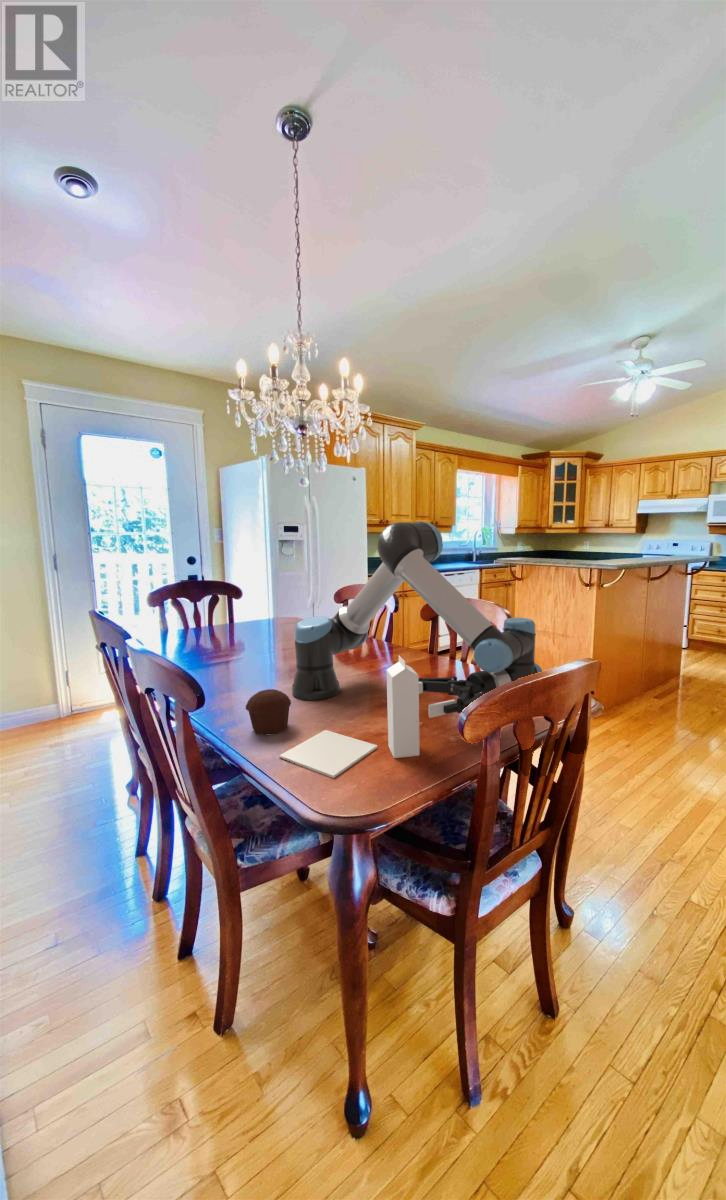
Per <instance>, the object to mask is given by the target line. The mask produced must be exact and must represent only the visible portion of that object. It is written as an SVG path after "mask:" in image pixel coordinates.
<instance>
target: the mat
mask: <svg viewBox="0 0 726 1200" xmlns="http://www.w3.org/2000/svg"><path fill="white" fill-rule="evenodd" d="M377 749H378V745H377V744H375V743H371V742H367V741H364V740H360V739H359V738H358V739H357V738H353V737H350V736H347V735H343V734H341V733H337V732H334V731H330V730H327V729H324V730H321V732H319V733H317V734H316V735H314V736H312V737H310V738H308V739H306V740H305V741H302V742H301V743H299V744H297V745H296V746H293V747H292V748H289V749H288V750H286V751H285V752H283V753H281V754H279V757H280V758H279V757H278V758H279V759H281V758H282V760H284V761H286V760H287V762H289V761H290V763H292V764H294V763H295V765H298V766H300V767H302V766H303V768H305V769H308V770H311V771H314V772H316V773H319V774H321V775H324V776H326V777H328V778H332V779H335V778H336V777H338V776H339V775H341V774H342V773H343V772H345V771H346V770H347V769H349V768H351V767H352V766H353V765H355V764H357V762H359V761H361V760H362V759H364V758H365V757H366V756H368V755H369V754H370V753H372V752H373V751H375V750H377Z"/></svg>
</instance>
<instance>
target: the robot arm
mask: <svg viewBox="0 0 726 1200" xmlns="http://www.w3.org/2000/svg"><path fill="white" fill-rule="evenodd" d="M443 544H444V543H443V536H442V534H441V532H440V530H439V529H438V528H437V526H435V525H434V524H432V523H430V522H425V521H412V522H404V521H403V522H402V521H399V522H393V523H391V524H389V525H387V526H386V527H385V528H384V529H383V530H382V531H381V532H380V534H379V536H378V540H377V545H376V546H377V552H378V555H379V557H380V560H381V561H382V562H381V564H380V565H379V566H378V568H377V569H376V570H375V572H374V573H373V574H371V575H372V576H371V577H369V579H368V580H367V582H366V583H365V585H364V586H363V587H362V588H361V590H359V591H358V593H357V595H355V597H354V598H353V600H352V601H351V603H349V605H344V606H342V607H341V608H340V609H339V610H338V612H336V614H335V615H334V616H333V617H332V618H330V617H327V616H314V617H308V618H304V619H302V620H300V621H298V622H297V623H296V624H295V627H294V635H293V636H294V638H293V639H294V646H295V647H294V649H295V662H296V664H295V665H296V666H295V667H296V671H295V674H294V679H293V683H292V686H291V692H292V693H291V694H292V696H293V697H295V698H297V699H300V700H305V701H318V700H319V701H320V700H324V699H330V698H332V697H334V696H336V695H338V694H339V693H340V689H341V687H340V686H341V685H340V682H339V680H338V678H337V674H336V671H335V668H334V655H337V654H339V653H343V652H346V651H351V650H354V649H357V648H359V647H360V646H362V645H363V644H364V643H365V642H366V641H367V639H368V635H369V633H368V631H369V629H370V625H371V624H370V622H371V621H372V620H373V619H374V617H375V616H376V615H377V614H378V613H379V611H380V610H381V609H382V608H383V606H384V605H385V604H386V603H387V602H388V601H389V599H390V598H391V597H392V596H393V595H394V594H395V592H396V591H397V590H398V589H399V588H400V587H401V585H402V584H403V583H404V582H406V583H407V585H409V586H410V588H412V589H413V591H415V592H416V593H417V594H418V596H419V597H421V599H423V600H424V601H425V603H426V604H428V606H429V607H430V608H431V609H432V610H433V611H434V612H435V613H436V614H437V615H438V616H439V617H440V618H441V619H442V620H443V621H444V622H446V624H447V625H448V626H449V627H450V628H451V629H452V630H453V631H454V632H455V633H456V634H457V635H458V636H459V637H460V638H461V639H462V640H463V641H464V642H465V643H466V645H468V646H469V647H470V648H471V650H472V651H473V659H474V661H475V664H476V665H477V667H478V668H479V669H480V671H475V672H470V674H469V675H468V676H467V678H466V679H459V680H458V677H457V676H449V677H419V695H423V693H426V692H429V693H441V694H443V693H444V694H447V695H448V696H454V697H455V696H456V699H448V700H445V701H439V702H435V703H431V704H428V706H427V707H428V713H427V714H428V716H427V717H429V718H430V719H431V718H432V719H433V718H436V717H440V716H444V715H450V714H454V713H458V714H461V712H462V710H463V709H464V708H465V707H467V706H468V705H469V704H470V703H471V702H473V701H474V700H476V699H477V698H479V697H480V696H482V695H483V694H485V693H487V692H489V691H491V690H493V689H495V688H497V687H499V686H502V685H504V684H506V683H509V682H512V681H515V680H517V679H518V678H521V677H525V676H528V675H531V674H535V673H538V672H542V673H543V670H542V669H543V668H541V666H540V665H539V664H538V663H536V662H535V656H536V655H535V652H536V651H535V650H536V637H537V636H536V635H537V634H536V624H535V622H534V620H533V619H531V618H526V617H509V618H506V619H505V620H504V622H503V628H502V630H503V631H502V632H501V630H499V629H498V628H497V627H496V626H495V625H494V624H493V623H492V622H491V621H490V620H488V618H487V617H486V616H485V615H484V614H483V613H482V612H481V611H480V610H478V608H476V606H474V605H473V604H472V603H471V602H470V600H468V599H467V598H466V597H465V596H464V595H463V594H462V593H461V592H460V591H459V590H458V589H457V588H456V587H455V586H454V585H453V584H452V583H451V582H449V580H447V578H446V577H444V576H443V574H442V573H440V572H439V571H438V570H437V569H436V568H435V567H434V566H433V565H432V564H431V563H432V562H434V561H435V560H437V559H438V558H439V557H440V556H441V553H442V552H443V551H442V550H443V546H444V545H443ZM462 713H463V712H462Z"/></svg>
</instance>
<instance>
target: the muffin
mask: <svg viewBox="0 0 726 1200" xmlns="http://www.w3.org/2000/svg"><path fill="white" fill-rule="evenodd" d="M247 700H248V701H247V703H246V705H245V710H246V711H247V712H248V715H249V718H250V723H251V726H252V730H253V729H254V730H253V731H254V734H255V733H259V734H258V735H260V734H263V735H265V736H267V735H266V734H275V735H277V734H279V732H280V733H283V732H285V730H286V729H287V728H288V725H289V724H288V723H289V715H290V714H289V713H290V707H291V705H292V700H291V699H290V697H289V696H288V694H287V693H284V692H283V691H281V690H278V689H271V688H270V689H269V688H268V689H264V690H263V689H262V690H260V691H258V692H256V693H255V694H253V695H252V696H251V697H250V698H249V699H247ZM263 735H262V736H263Z"/></svg>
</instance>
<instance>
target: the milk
mask: <svg viewBox="0 0 726 1200" xmlns="http://www.w3.org/2000/svg"><path fill="white" fill-rule="evenodd" d="M419 678H420V677H419V674H418V673H417V671H415V670H414V668H412V667H411V666H409V665H407V664H406V661H405V660H404V658H403V657H401V655H398V662H396V663H393V664H392V665H391V666H390V667H388V668H387V669H386V698H387V699H386V700H387V701H386V703H387V707H386V708H387V737H388V739H387V742H388V743H387V745H388V747H389V750H390V753H391V754H392V756H393V759H401V758H410V757H418V756H420V755H421V754H420V701H419V699H420V694H419Z"/></svg>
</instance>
